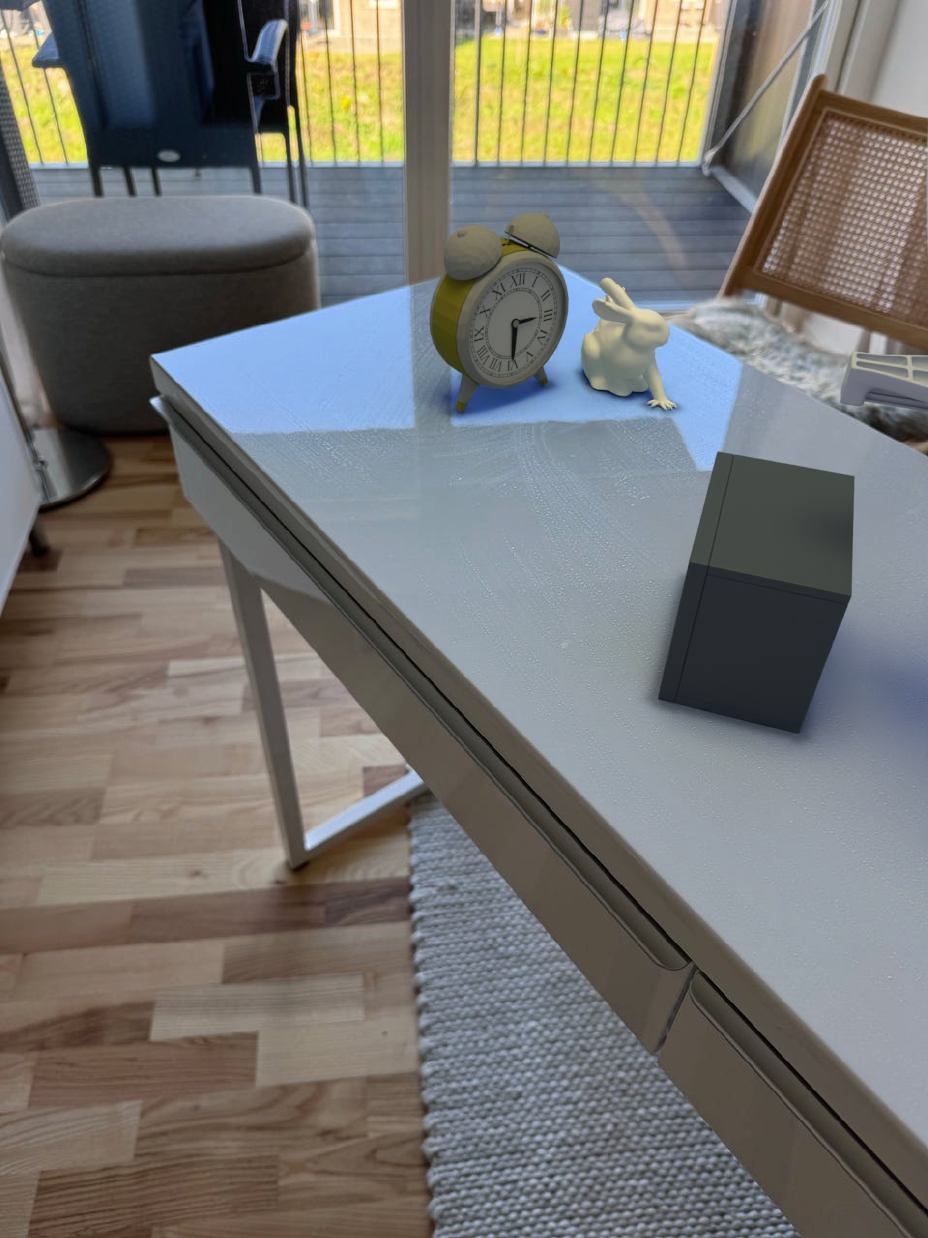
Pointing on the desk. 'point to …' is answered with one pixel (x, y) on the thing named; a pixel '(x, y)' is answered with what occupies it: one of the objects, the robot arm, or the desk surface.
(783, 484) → the dark grey storage bin
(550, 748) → the desk surface
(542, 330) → the alarm clock
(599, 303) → the rabbit figurine
